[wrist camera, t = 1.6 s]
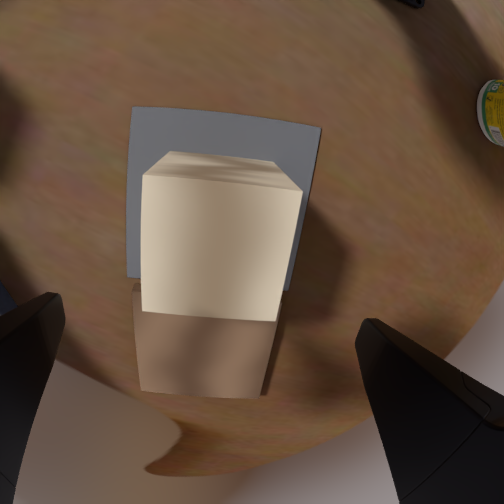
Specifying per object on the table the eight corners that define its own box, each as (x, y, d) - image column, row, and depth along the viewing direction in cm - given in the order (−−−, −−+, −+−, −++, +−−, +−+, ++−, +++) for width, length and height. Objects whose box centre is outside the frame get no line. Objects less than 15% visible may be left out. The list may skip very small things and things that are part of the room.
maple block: (273, 161, 18) (302, 191, 12) (258, 254, 21) (275, 321, 14) (170, 150, 17) (142, 175, 11) (163, 246, 20) (142, 310, 14)
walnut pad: (279, 295, 22) (282, 303, 21) (257, 390, 26) (258, 398, 26) (134, 283, 21) (131, 291, 20) (142, 382, 25) (141, 390, 24)
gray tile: (320, 127, 18) (321, 127, 18) (287, 289, 22) (288, 290, 22) (132, 106, 16) (132, 106, 16) (127, 276, 21) (127, 277, 21)
